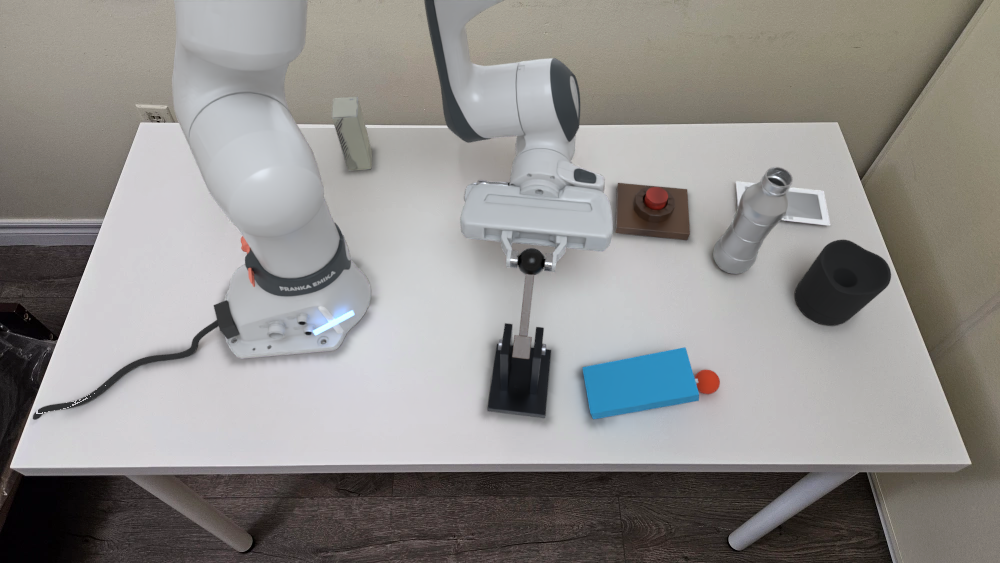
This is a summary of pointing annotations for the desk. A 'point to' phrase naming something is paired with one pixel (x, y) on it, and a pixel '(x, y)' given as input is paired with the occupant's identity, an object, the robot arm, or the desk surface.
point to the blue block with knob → (645, 383)
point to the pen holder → (841, 282)
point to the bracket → (520, 378)
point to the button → (656, 198)
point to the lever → (527, 299)
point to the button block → (651, 213)
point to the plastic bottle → (753, 221)
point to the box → (352, 133)
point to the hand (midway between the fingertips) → (531, 267)
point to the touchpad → (799, 204)
